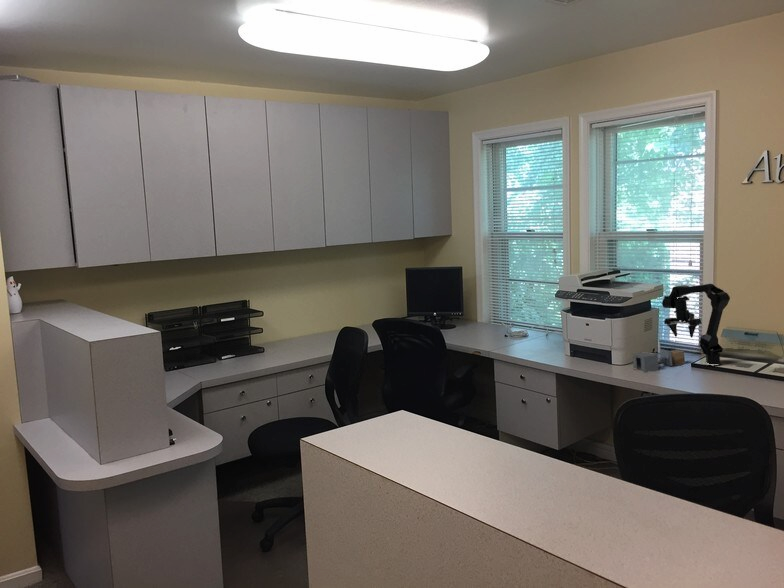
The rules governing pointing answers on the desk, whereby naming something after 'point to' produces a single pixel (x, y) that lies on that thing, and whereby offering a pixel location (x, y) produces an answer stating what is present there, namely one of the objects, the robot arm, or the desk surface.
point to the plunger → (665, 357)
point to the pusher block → (677, 357)
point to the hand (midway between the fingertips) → (683, 336)
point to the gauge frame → (645, 361)
